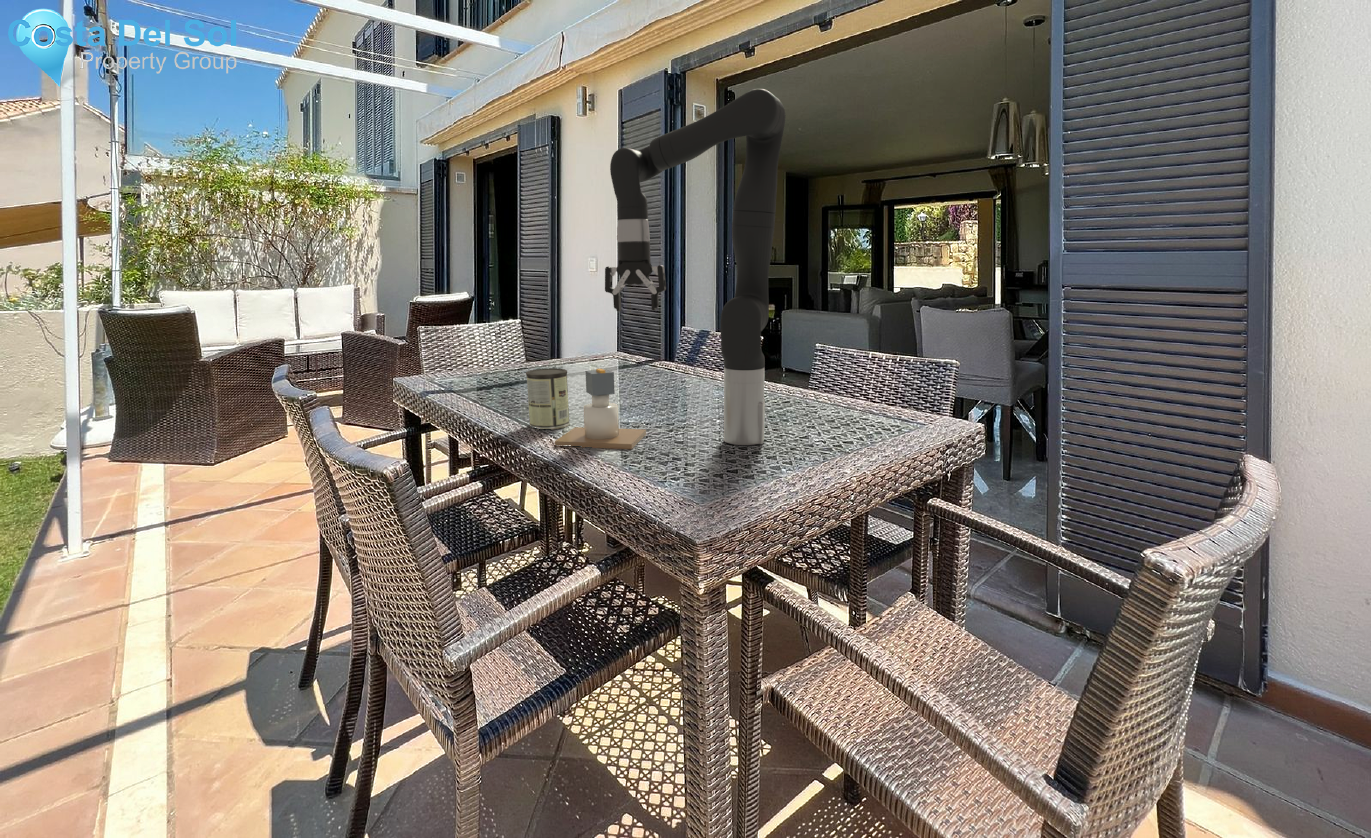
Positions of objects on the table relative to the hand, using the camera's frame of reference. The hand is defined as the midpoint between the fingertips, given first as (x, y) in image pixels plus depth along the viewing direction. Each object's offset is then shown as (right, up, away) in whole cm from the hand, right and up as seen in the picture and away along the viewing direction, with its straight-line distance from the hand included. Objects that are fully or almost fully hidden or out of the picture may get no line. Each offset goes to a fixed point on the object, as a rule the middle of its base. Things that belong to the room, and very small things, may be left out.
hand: (636, 310), depth 168 cm
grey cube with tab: (-8, -20, -4) cm, 22 cm away
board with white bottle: (-8, -31, -1) cm, 32 cm away
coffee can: (-23, -28, +14) cm, 39 cm away
